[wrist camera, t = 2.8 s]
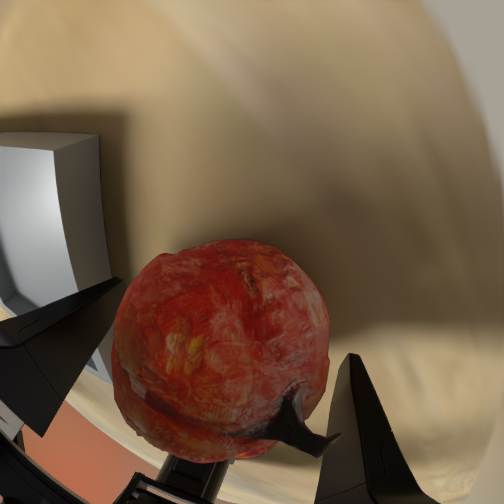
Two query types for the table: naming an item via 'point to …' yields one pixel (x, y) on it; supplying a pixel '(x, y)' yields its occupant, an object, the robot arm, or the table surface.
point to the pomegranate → (222, 353)
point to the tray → (52, 225)
